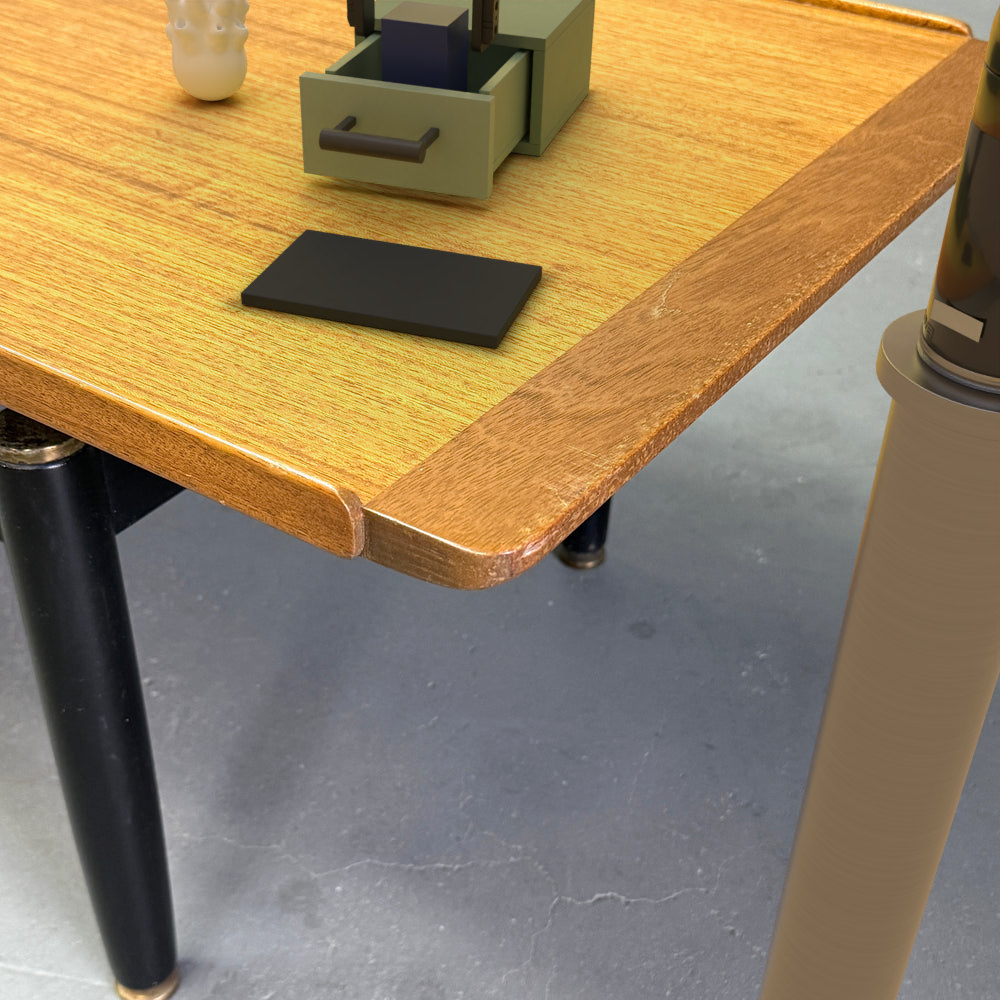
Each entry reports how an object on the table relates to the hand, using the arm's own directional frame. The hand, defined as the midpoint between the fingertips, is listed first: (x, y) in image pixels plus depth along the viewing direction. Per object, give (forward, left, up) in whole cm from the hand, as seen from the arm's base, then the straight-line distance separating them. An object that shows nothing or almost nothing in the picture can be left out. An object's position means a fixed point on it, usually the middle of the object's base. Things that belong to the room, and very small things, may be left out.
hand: (422, 41), depth 97 cm
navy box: (0, 0, -7) cm, 7 cm away
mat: (-5, +20, -9) cm, 22 cm away
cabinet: (0, -13, -9) cm, 16 cm away
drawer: (0, +1, -8) cm, 8 cm away
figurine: (+21, -8, -9) cm, 24 cm away
